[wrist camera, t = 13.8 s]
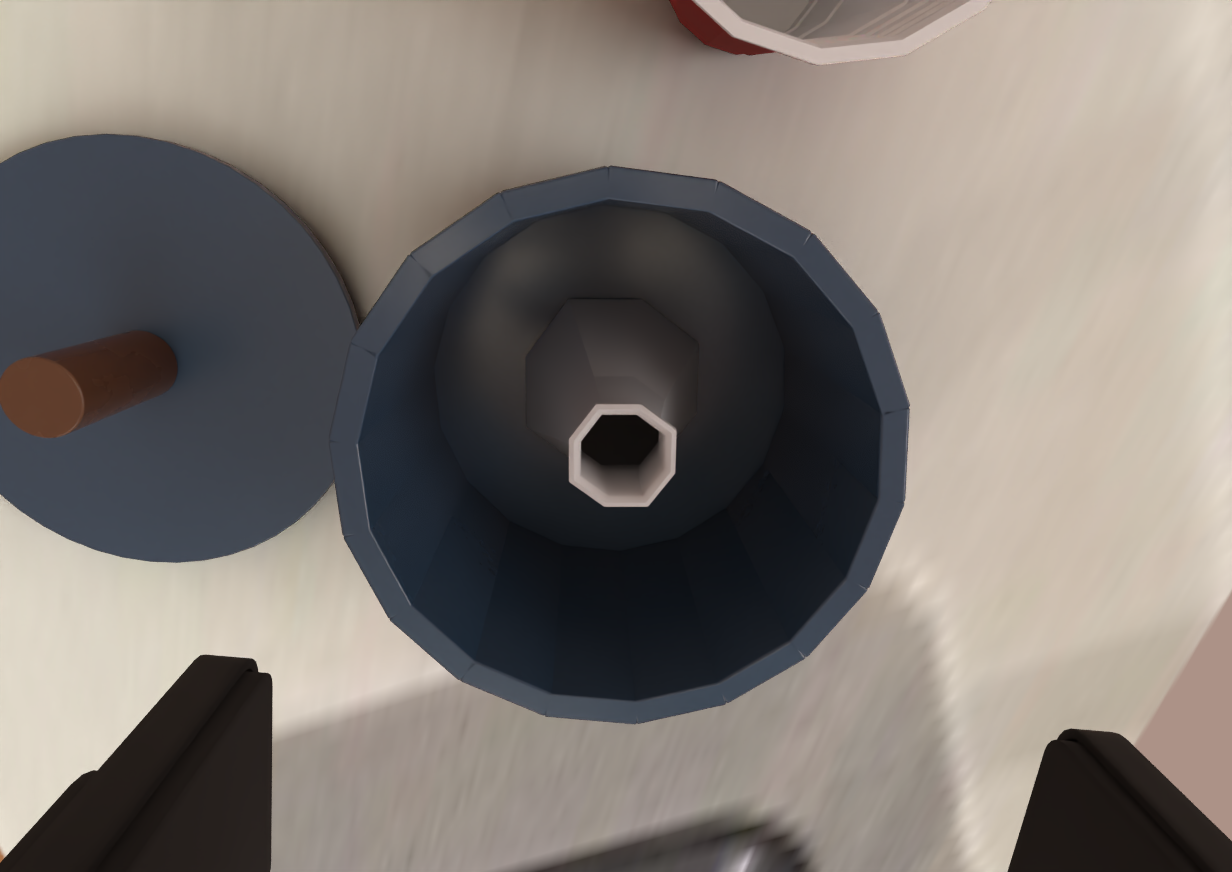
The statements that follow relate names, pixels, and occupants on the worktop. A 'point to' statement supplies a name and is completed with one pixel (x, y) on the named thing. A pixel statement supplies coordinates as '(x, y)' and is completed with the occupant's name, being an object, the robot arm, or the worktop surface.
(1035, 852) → the robot arm
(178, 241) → the lid
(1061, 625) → the worktop surface
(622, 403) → the flask
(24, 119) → the worktop surface
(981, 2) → the plastic cup
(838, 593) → the pot
